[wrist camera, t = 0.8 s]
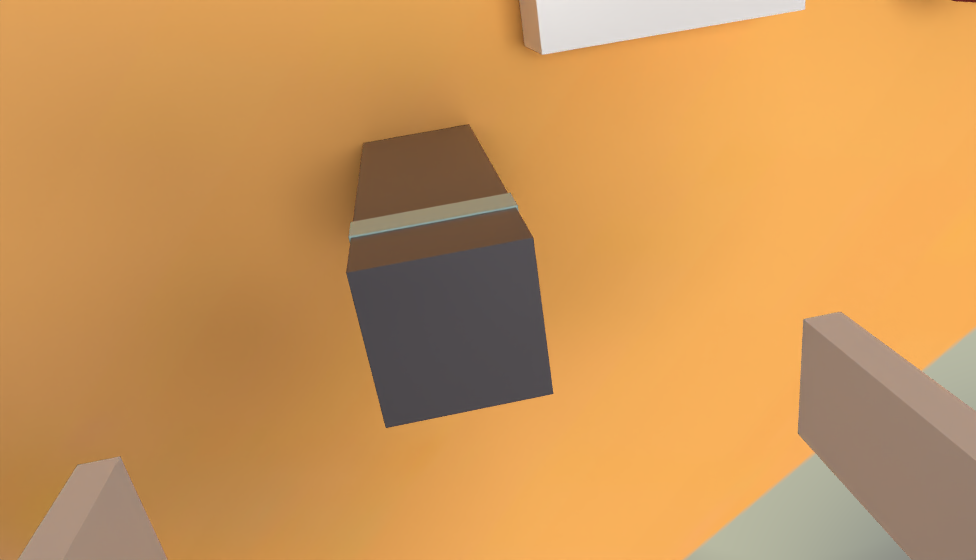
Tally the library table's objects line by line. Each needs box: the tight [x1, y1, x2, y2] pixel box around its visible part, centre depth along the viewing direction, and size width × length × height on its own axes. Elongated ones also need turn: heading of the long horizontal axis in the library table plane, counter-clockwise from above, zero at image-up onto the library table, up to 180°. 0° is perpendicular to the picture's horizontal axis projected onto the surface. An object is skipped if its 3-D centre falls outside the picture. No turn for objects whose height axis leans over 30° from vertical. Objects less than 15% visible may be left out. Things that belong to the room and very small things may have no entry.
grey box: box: [346, 124, 553, 428], centre depth 24 cm, size 5×5×14 cm
